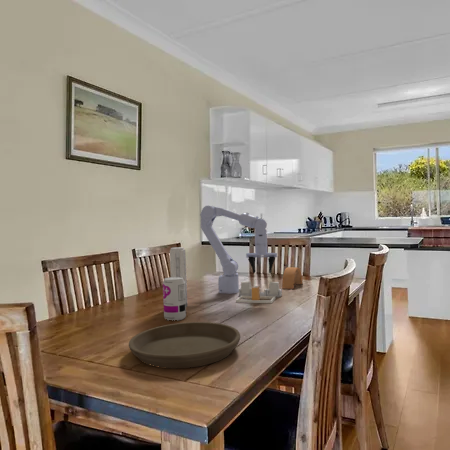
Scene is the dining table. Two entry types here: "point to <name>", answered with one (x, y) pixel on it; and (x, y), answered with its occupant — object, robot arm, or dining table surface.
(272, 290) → the block
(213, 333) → the plant saucer
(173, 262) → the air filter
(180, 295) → the supplement can
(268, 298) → the tray
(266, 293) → the fuse block
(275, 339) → the dining table surface
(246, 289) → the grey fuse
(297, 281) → the arch
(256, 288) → the block
